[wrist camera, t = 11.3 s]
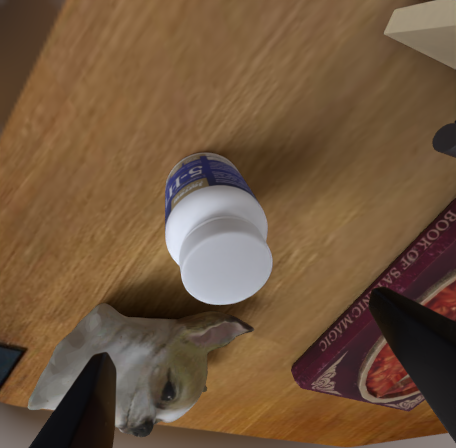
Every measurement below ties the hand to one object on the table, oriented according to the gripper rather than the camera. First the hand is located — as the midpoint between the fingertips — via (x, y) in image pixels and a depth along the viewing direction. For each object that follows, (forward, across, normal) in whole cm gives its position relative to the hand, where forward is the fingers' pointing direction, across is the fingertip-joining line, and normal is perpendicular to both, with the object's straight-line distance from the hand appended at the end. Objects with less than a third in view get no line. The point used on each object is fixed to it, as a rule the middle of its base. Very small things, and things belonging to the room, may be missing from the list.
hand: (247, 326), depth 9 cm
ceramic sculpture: (+12, +6, +12) cm, 19 cm away
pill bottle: (+12, 0, 0) cm, 12 cm away
